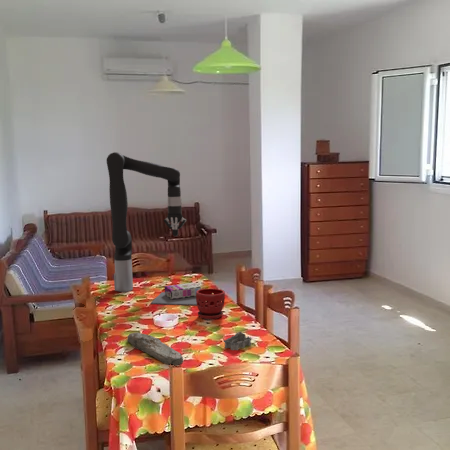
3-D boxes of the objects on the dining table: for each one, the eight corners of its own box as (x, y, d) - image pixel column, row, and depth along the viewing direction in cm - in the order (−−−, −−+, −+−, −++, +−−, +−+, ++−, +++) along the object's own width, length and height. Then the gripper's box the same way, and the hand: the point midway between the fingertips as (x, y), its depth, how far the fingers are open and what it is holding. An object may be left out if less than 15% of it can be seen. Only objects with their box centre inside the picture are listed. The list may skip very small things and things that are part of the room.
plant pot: (222, 321, 239) (221, 295, 238) (193, 320, 242) (192, 294, 240) (227, 312, 252) (227, 287, 250) (200, 311, 255) (199, 286, 253)
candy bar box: (171, 300, 272) (201, 295, 279) (170, 290, 272) (201, 286, 278) (164, 295, 283) (193, 291, 289) (164, 285, 282) (193, 281, 288)
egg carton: (241, 340, 216) (241, 330, 216) (254, 345, 211) (254, 335, 210) (221, 346, 210) (221, 336, 209) (233, 352, 204) (233, 341, 203)
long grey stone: (166, 373, 190) (190, 366, 196) (167, 358, 189) (190, 353, 195) (120, 341, 216) (141, 336, 223) (120, 328, 216) (142, 324, 222)
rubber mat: (150, 304, 269) (150, 302, 268) (162, 293, 288) (162, 292, 288) (197, 305, 264) (197, 304, 264) (205, 294, 284) (205, 293, 284)
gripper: (160, 205, 291) (162, 237, 293) (184, 205, 288) (185, 237, 291) (164, 204, 298) (165, 234, 300) (187, 204, 296) (188, 235, 298)
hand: (175, 236), depth 296 cm, fingers closed
